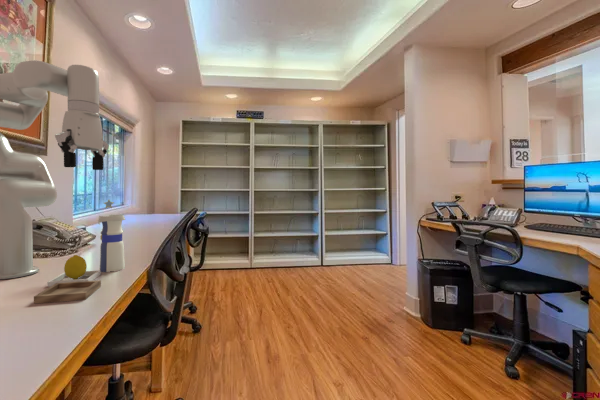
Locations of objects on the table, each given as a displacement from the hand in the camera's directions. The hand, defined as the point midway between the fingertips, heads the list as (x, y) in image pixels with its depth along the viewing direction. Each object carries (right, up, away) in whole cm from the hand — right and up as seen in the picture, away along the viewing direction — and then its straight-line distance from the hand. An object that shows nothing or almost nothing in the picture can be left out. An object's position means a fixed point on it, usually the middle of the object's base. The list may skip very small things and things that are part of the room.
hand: (84, 168), depth 86 cm
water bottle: (-4, -34, +18) cm, 39 cm away
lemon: (-7, -35, +5) cm, 36 cm away
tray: (+1, -35, -7) cm, 36 cm away
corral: (-7, -35, +5) cm, 36 cm away
